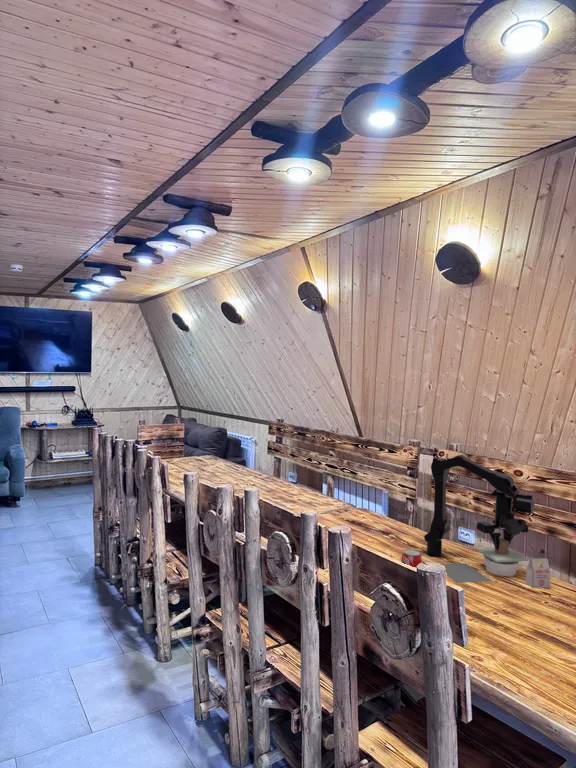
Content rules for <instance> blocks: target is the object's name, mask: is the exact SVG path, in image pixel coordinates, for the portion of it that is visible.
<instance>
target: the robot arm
mask: <svg viewBox="0 0 576 768" xmlns="http://www.w3.org/2000/svg"><path fill="white" fill-rule="evenodd" d="M455 467H461V468H463V469H465V470H466V471H468V472H470V473H472V474H473V475H476V476H478V478H479V477H480V478H481V479H483V480H485V481H486V482H488V483H489V484H490V485H491V486H492V487H493V488H495V489H494V490H493V491H492V492H491V493H489V494H490V496H492V497H495V507H494V508H495V509H492V512H493V513H494V519H492V523H490V522H487V521H478V522H477V524H476V530H478V531H480V532H482V533H483V534H489V536H490V538H491V541H492V543H493V545H494V546H493V547H495V549H496V550H498V548H499V538H500V537H501V535H503V538H504V539H506V540H507V541H509V545H510V544H511V542H512V540H513V538H514V537H515V536H517V535H518V536H519V535H520V534H521V533H528V532H529V525H528V524H527V523H526V520H525V519H515V513H514V512H513V511H512V508H513V510H515V512H519V513H525V514H530V515H533V514H534V511H535V499H534V495H532V494H525V493H520V491H519V489H518V488H517V486H516V485H515V481H514V478H513V477H512V476H511V475H509V474H506V473H502V472H498V471H494V470H491V469H489V468H488V467H486V466H484V465H482V464H479V463H477V462H476V461H474V460H473V459H470V458H468V457H466V456H465V455H463V454H458V455H455V456H453V457H451V458H448V459H446V458H439V459H435V460H433V461H432V462H431V464H430V469H431V475H432V478H433V480H434V494H433V495H434V499H433V500H434V504H433V506H434V507H433V509H434V510H433V511H434V513H433V518H432V521H431V523H430V528H429V531H428V533H426V534H425V535H423V538H424V541H425V542H426V550H423V551H422V552H423V554H425V555H427V556H428V557H429V558H437V557H438V558H441V557H445V555H444V554H443V553H442V548H443V547H442V546H443V544H442V543H443V542H442V540H444V538H445V537H446V536H447V535H448V534H449V532H450V531H451V530H452V528H451V523H452V521H451V519H447V516H446V514H447V513H446V511H447V510H446V507H447V505H446V503H447V480H448V477H449V474H450V469H451V468H455ZM500 530H502V532H503V533H501V532H500Z"/></svg>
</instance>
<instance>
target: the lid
mask: <svg viewBox="0 0 576 768" xmlns="http://www.w3.org/2000/svg"><path fill="white" fill-rule="evenodd" d="M474 550H475V551H476V552H478V553H480V554H482V555H483V556H484V555H485V556H487V557H488V558H490V559H492V560H493V561H495V562H515V561H518V562H529V561H530V559H529V558H528V557H527V556H525V555H523V554H521V553H519V552H517V551H515V550H513V549H512V548H510V544H509V541H507V540H506V539H504V537H502V538H500V537H499V548H498V550H496V549H495V546H484V547H482V546H479V547H478V546H477V547H475V548H474Z"/></svg>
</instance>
